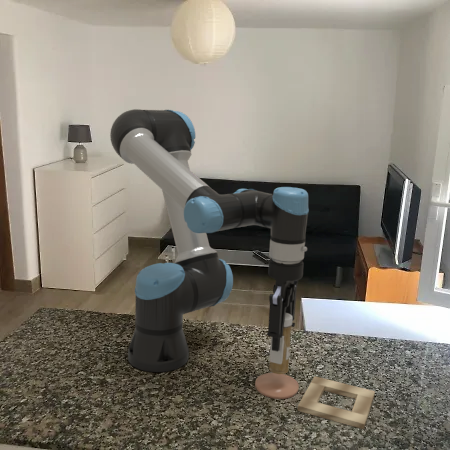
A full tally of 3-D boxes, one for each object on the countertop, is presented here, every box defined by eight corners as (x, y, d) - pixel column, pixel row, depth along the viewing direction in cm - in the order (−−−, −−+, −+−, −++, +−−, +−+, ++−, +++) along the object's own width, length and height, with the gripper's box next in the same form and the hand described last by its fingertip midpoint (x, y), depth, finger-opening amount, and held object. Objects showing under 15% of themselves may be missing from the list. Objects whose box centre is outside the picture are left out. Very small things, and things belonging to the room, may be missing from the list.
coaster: (248, 391, 118) (248, 388, 118) (263, 372, 127) (263, 369, 127) (291, 403, 114) (291, 400, 114) (303, 382, 123) (303, 379, 123)
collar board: (297, 410, 112) (297, 405, 112) (314, 380, 124) (314, 376, 124) (363, 429, 106) (364, 424, 106) (374, 396, 119) (374, 391, 119)
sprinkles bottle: (292, 372, 119) (297, 316, 116) (277, 377, 117) (281, 320, 114) (279, 363, 123) (283, 309, 120) (264, 368, 120) (268, 313, 117)
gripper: (291, 272, 104) (283, 379, 110) (313, 252, 120) (305, 346, 125) (256, 266, 107) (250, 370, 113) (282, 247, 123) (275, 339, 128)
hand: (279, 357), depth 119 cm, fingers closed on sprinkles bottle, 4 cm apart
